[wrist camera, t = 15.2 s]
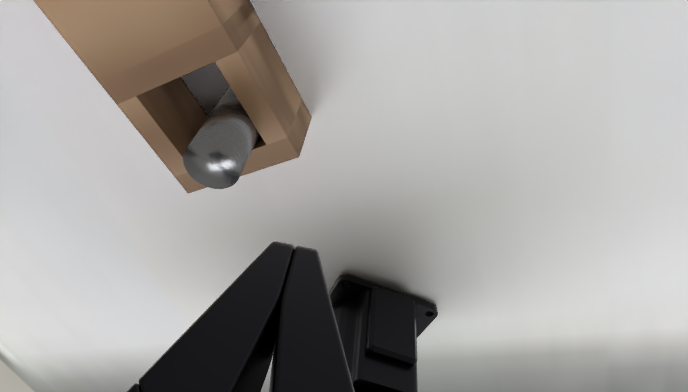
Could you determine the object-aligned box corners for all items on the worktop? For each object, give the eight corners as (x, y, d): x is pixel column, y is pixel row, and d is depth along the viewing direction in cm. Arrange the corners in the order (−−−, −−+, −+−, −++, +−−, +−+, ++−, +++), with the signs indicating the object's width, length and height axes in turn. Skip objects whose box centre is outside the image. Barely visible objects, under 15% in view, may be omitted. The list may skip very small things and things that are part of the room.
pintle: (268, 121, 20) (233, 196, 16) (225, 104, 20) (179, 176, 16) (280, 84, 19) (246, 154, 15) (235, 65, 19) (187, 132, 15)
